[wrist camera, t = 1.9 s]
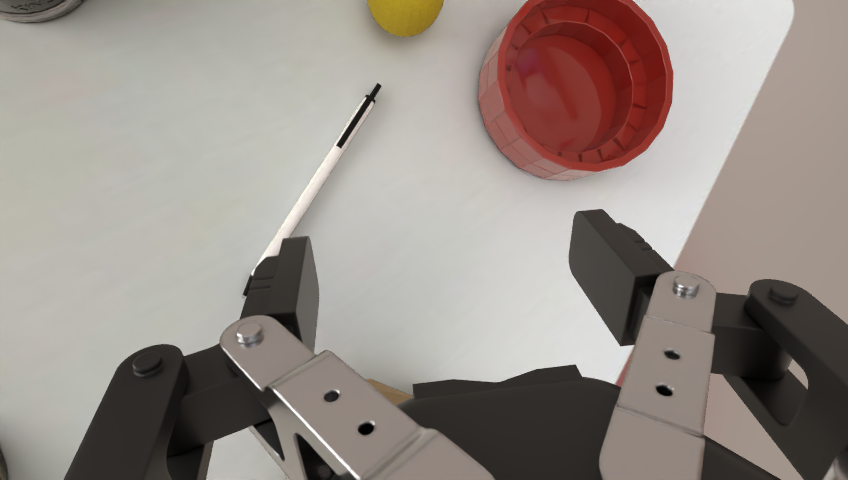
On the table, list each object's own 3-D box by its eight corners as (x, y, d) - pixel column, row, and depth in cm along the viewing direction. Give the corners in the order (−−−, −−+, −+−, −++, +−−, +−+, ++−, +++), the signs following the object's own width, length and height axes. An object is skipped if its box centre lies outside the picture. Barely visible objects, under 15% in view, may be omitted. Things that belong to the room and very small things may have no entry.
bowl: (444, 67, 40) (461, 38, 34) (577, -12, 42) (613, -50, 37) (532, 212, 41) (562, 206, 36) (658, 128, 43) (704, 111, 38)
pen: (383, 89, 39) (385, 85, 38) (249, 300, 37) (246, 301, 36) (373, 83, 39) (375, 78, 38) (238, 294, 37) (235, 295, 36)
